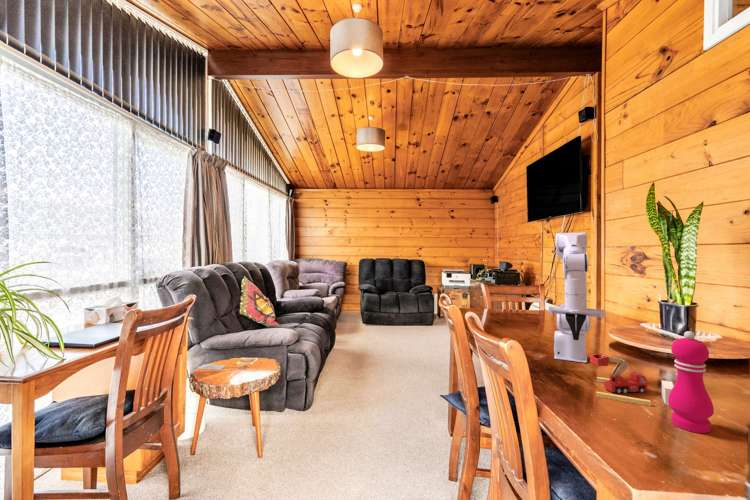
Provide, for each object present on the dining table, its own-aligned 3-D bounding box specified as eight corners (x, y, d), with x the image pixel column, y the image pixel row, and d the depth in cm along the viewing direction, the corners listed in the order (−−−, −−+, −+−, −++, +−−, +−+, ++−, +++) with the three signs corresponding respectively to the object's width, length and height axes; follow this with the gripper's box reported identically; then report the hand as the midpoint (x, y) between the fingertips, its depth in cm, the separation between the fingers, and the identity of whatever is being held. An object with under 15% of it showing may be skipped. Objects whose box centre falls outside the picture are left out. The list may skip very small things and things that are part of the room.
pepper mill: (659, 418, 79) (658, 328, 79) (689, 417, 80) (688, 326, 80) (691, 435, 72) (690, 336, 72) (724, 433, 73) (723, 334, 73)
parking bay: (596, 396, 91) (596, 380, 91) (596, 380, 102) (596, 366, 102) (678, 411, 83) (677, 393, 83) (669, 391, 94) (668, 376, 94)
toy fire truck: (649, 392, 93) (649, 355, 93) (598, 394, 93) (597, 357, 93) (639, 387, 97) (639, 351, 97) (589, 389, 96) (589, 353, 96)
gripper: (546, 294, 108) (547, 339, 108) (604, 297, 100) (604, 345, 101) (549, 291, 114) (550, 334, 114) (604, 294, 106) (604, 340, 106)
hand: (576, 339), depth 108 cm, fingers closed
